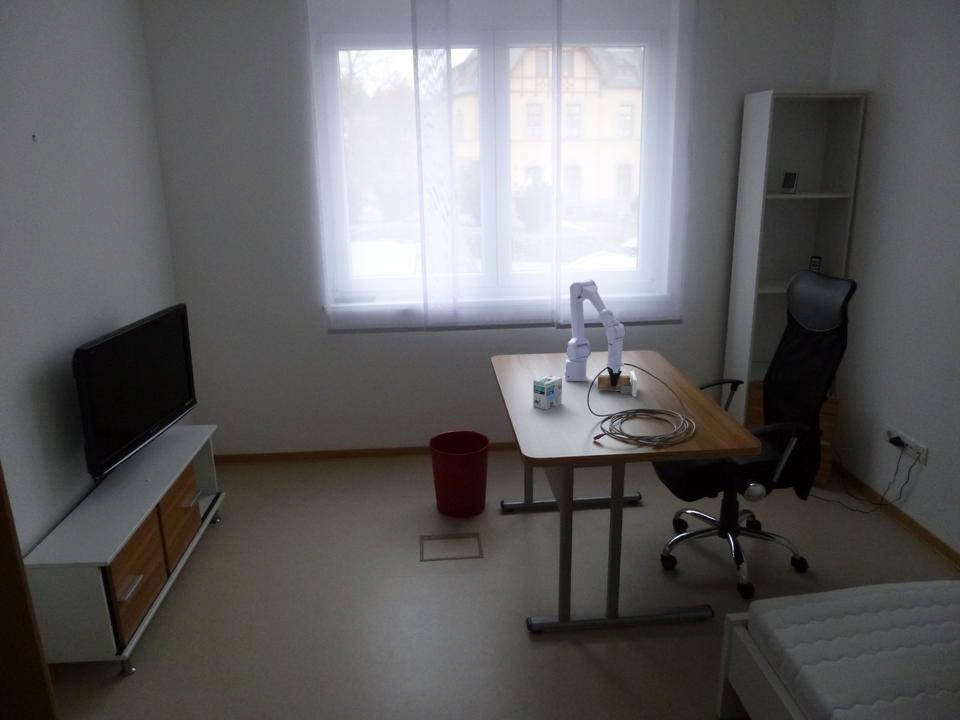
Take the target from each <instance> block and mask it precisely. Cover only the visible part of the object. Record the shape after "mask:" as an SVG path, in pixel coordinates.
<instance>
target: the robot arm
mask: <svg viewBox="0 0 960 720" xmlns="http://www.w3.org/2000/svg"><path fill="white" fill-rule="evenodd" d="M598 289H599V288H598V286H597V284H596V282H595V281H594V279H587V280H579V281H577V280H576V281H574V282H572V284H571V285H570V286H569V294H570V295H569V308H570V325H571V339H570V340H569V341H568V342H567V349H566V355H567V358H568V359H565V371H564V377H565V381H566V382H588V375H587V366H588V365H587V362H588V359H589V357H590V356H591V355H592V349H591V346H590V341H589V339H587V338H586V336H585V335H586V334H585V320H584V318H585V317H584V304H583V302H584V301H585V300H588V301H590V302H591V304H592V305H593V307H594V308H595V310H596V311H597V312H598V314H599V315H598V318H599V320H600V323H602V325H603V327H604V328H605V330H606V331H605V336H606V338H607V343H608V344H607V345H608V346H607V348H608V349H607V363H606V368H607V372H608V375H610V382H611V386H614V387H616V386H617V383H618V379H619V376H620V375H622V373H623V371H622V370H621V369H622V368H621V367H624V366H625V363H624V362H623V363H622V361H623V360H622V359H623V345H624V342H623V340H624V338H625V337H626V335H627V328H626V326H625V325H624V324H623V323H620V321H618V320H617V318H616V316H615V315H614V312H613V311H612V310H611V309H608V308H607V307H606V305H605V304H604V301H603V300H602V298H601V296H600V294H599V292H598Z"/></svg>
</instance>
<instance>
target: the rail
mask: <svg viewBox="0 0 960 720" xmlns="http://www.w3.org/2000/svg"><path fill="white" fill-rule="evenodd" d="M621 386H630V375H623V374H620V376H619V379H618V383H617V386H616V387H614V386H611V382H610V375H609V374H598V375H597V390H598V391H600V390H601V391H620V390H621Z"/></svg>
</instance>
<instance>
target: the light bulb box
mask: <svg viewBox="0 0 960 720" xmlns="http://www.w3.org/2000/svg"><path fill="white" fill-rule="evenodd" d="M532 390H533V394H532V395H533V397H532V400H533V401H532V405H533V407H536V408H539V409H542V410H546V411H547V410H549V409H551V408H553V407H556V406H558V405H561V404H562V402H563V401H562V399H563V398H562V396H563V395H562V394H563V377H560V376H555V375H552V374H547V375H546V376H545V375H544V376H542V377H540V378H537V379H534V380H533V389H532Z"/></svg>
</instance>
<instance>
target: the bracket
mask: <svg viewBox="0 0 960 720" xmlns="http://www.w3.org/2000/svg"><path fill="white" fill-rule="evenodd" d="M629 376H630V386H621V390H619V393H620V394H621V395H622V394H623V395H625V394H626V395H627V394H628V395H631V396H632V397H637V392H638V391H637V388H638V379H637V376H636V374H635V370H630V371H629Z"/></svg>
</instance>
